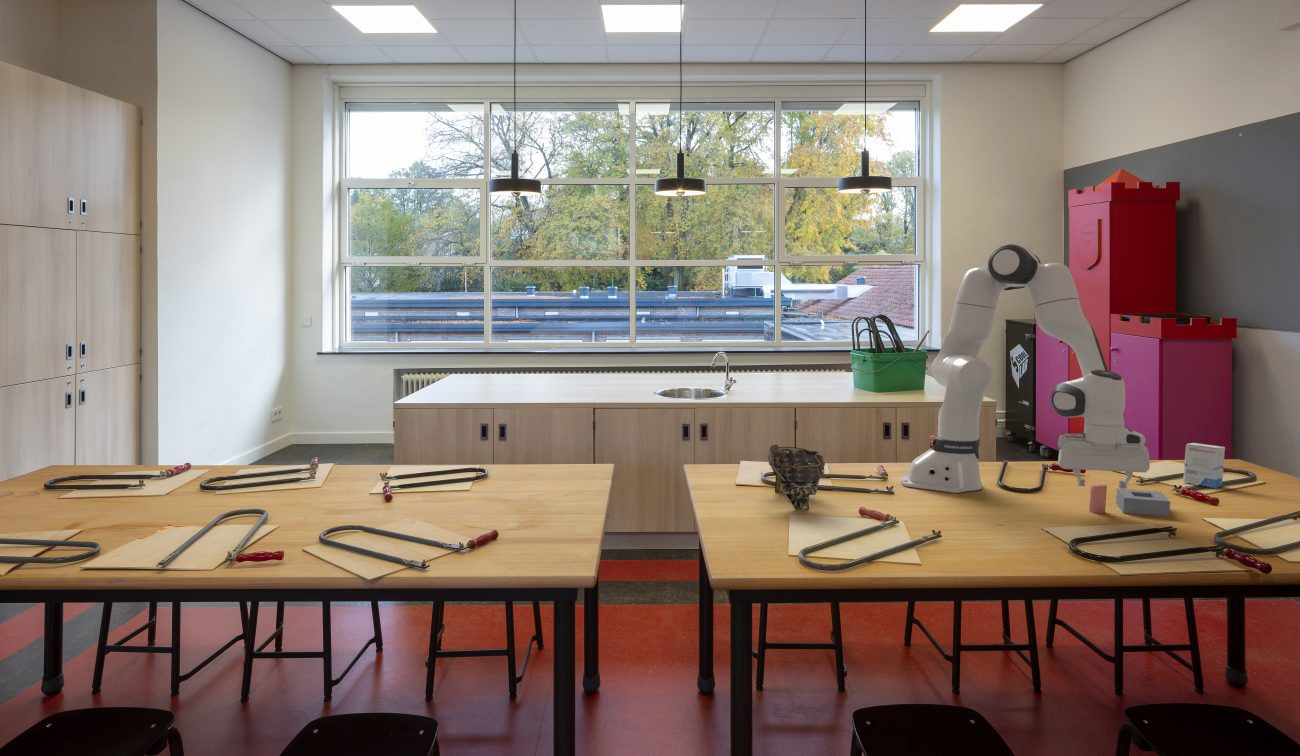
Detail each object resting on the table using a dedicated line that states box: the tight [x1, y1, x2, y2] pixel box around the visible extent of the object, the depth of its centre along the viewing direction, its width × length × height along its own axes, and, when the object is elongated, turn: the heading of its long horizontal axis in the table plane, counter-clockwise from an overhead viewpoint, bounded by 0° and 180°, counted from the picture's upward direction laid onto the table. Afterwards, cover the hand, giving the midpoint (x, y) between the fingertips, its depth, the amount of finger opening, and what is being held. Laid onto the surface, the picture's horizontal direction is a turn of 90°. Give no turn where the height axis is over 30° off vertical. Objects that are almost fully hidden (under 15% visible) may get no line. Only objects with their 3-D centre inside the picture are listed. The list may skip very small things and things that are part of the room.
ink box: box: [1182, 442, 1226, 489], centre depth 224 cm, size 8×5×12 cm, turn 35°
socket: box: [1115, 488, 1171, 518], centre depth 199 cm, size 10×10×4 cm
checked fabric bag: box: [767, 444, 826, 511], centre depth 211 cm, size 22×15×15 cm
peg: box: [1088, 483, 1108, 515], centre depth 198 cm, size 4×4×7 cm
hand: (1101, 487), depth 198 cm, fingers open, 8 cm apart
